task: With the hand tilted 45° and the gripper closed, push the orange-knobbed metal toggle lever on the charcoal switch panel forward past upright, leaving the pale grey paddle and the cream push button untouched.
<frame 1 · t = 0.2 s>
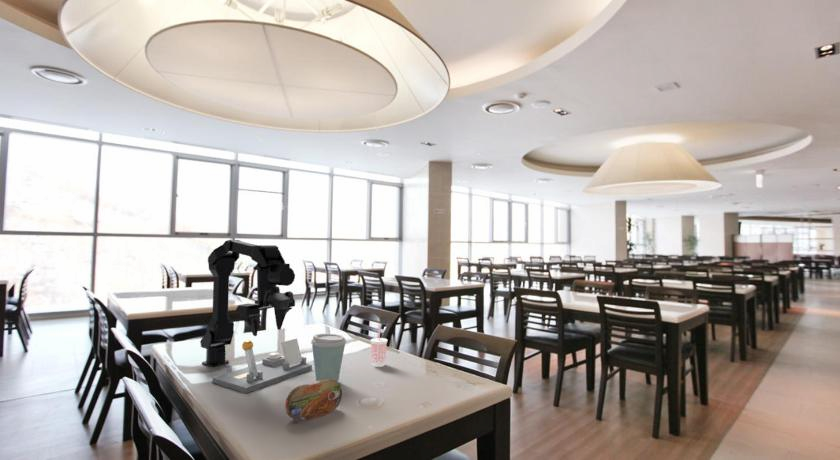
hand: (267, 332, 130), 15 cm above the table, tool pointing down, fingers open, 9 cm apart
switch panel: (264, 375, 132), on the table
grey paddle: (291, 352, 139), point 6 cm above the table, hinge at -22.0°
cream push button: (274, 356, 140), point 4 cm above the table, slide at 0.0 cm
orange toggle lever: (250, 358, 125), point 8 cm above the table, hinge at -22.0°
beverage cup: (378, 365, 146), on the table
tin: (313, 416, 103), on the table
disposable coffee cup: (327, 384, 126), on the table
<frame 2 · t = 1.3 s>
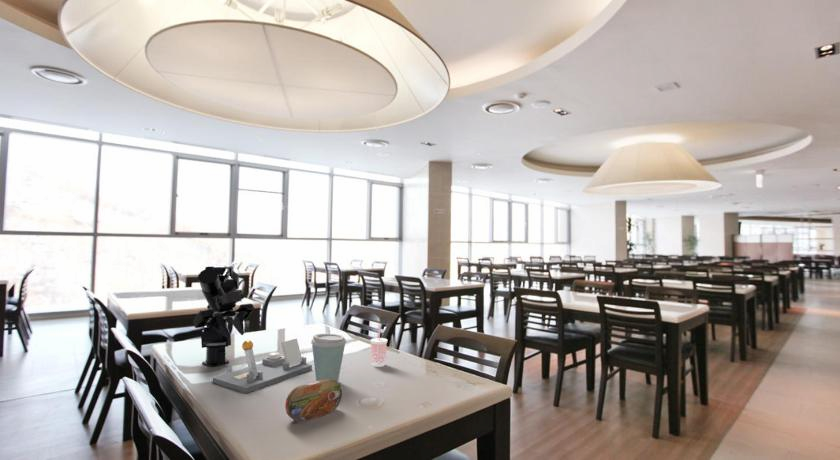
hand: (236, 335, 129), 14 cm above the table, tool tilted 45°, fingers open, 5 cm apart
nothing on the table moved.
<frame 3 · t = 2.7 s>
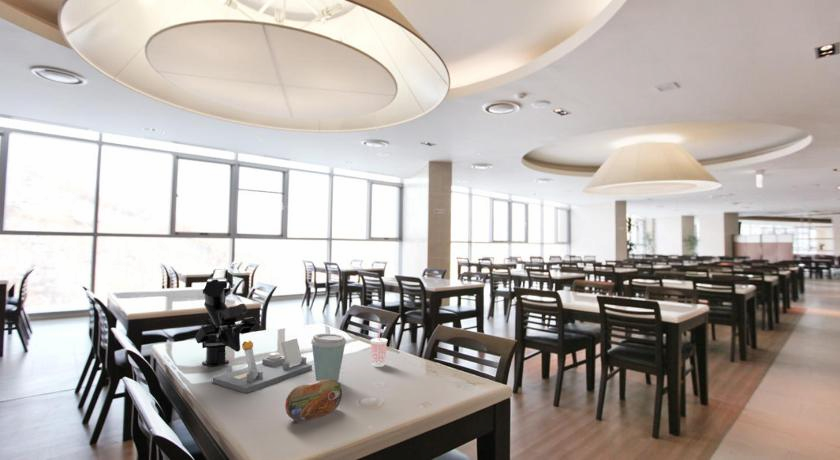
hand: (238, 350, 128), 9 cm above the table, tool tilted 45°, fingers closed
nothing on the table moved.
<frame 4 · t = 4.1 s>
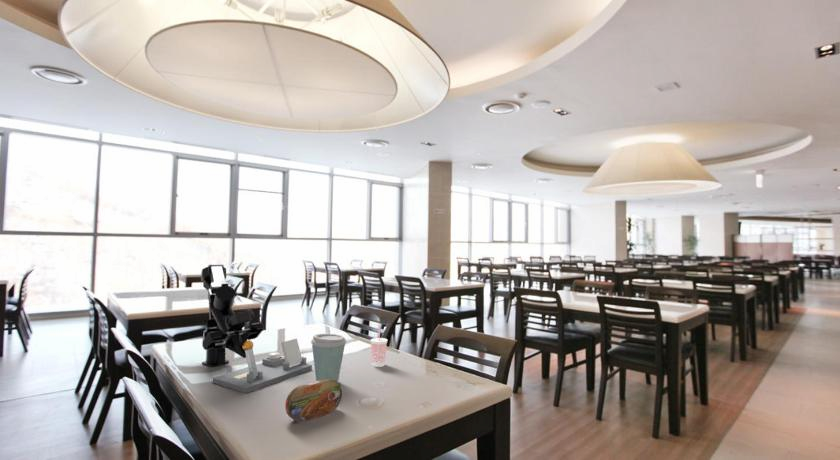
hand: (246, 357, 126), 8 cm above the table, tool tilted 45°, fingers closed, pressing on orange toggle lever
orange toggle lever: (250, 358, 125), point 8 cm above the table, hinge at -21.5°, touching gripper
everything else where it was.
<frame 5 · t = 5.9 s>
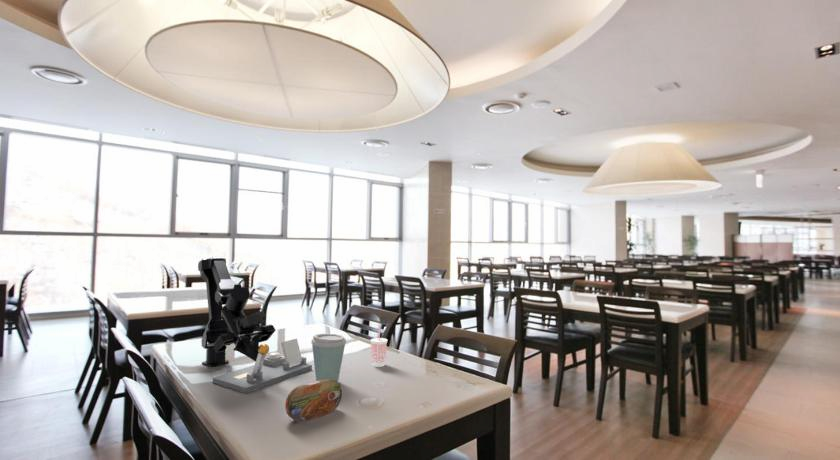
hand: (257, 360, 123), 8 cm above the table, tool tilted 45°, fingers closed, pressing on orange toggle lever
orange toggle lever: (259, 360, 123), point 8 cm above the table, hinge at 21.9°, touching gripper
everything else where it was.
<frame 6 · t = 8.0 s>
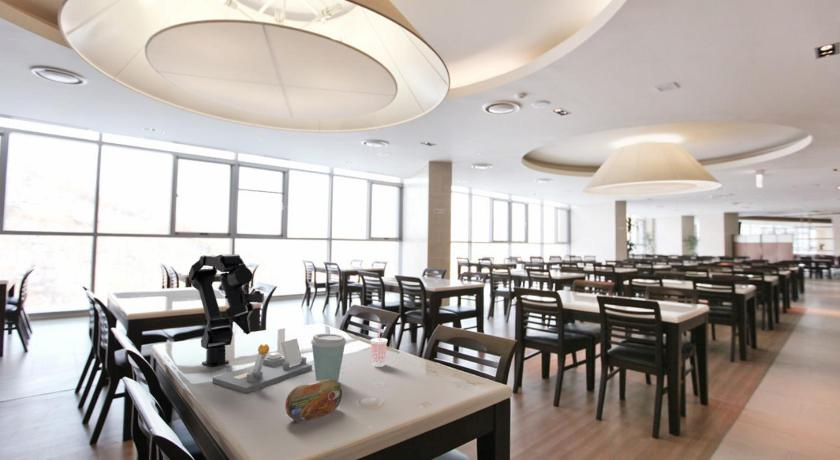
hand: (248, 333, 136), 13 cm above the table, tool tilted 20°, fingers closed
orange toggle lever: (260, 360, 123), point 8 cm above the table, hinge at 21.9°
everything else where it was.
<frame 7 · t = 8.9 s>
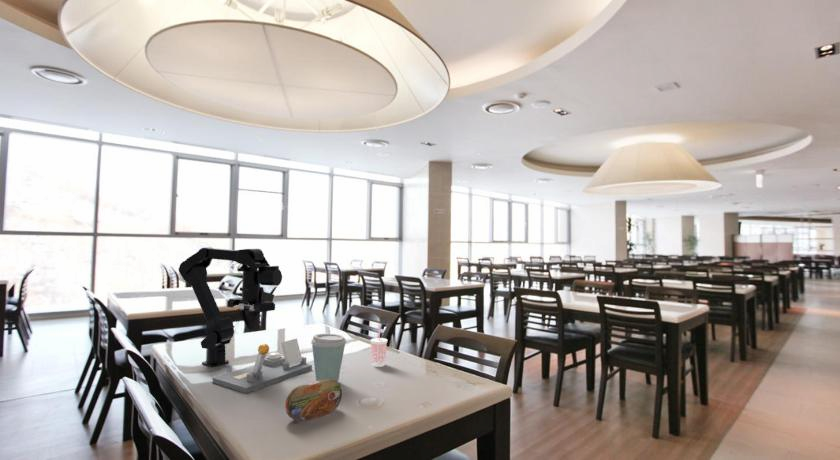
hand: (250, 329, 141), 13 cm above the table, tool pointing down, fingers closed
nothing on the table moved.
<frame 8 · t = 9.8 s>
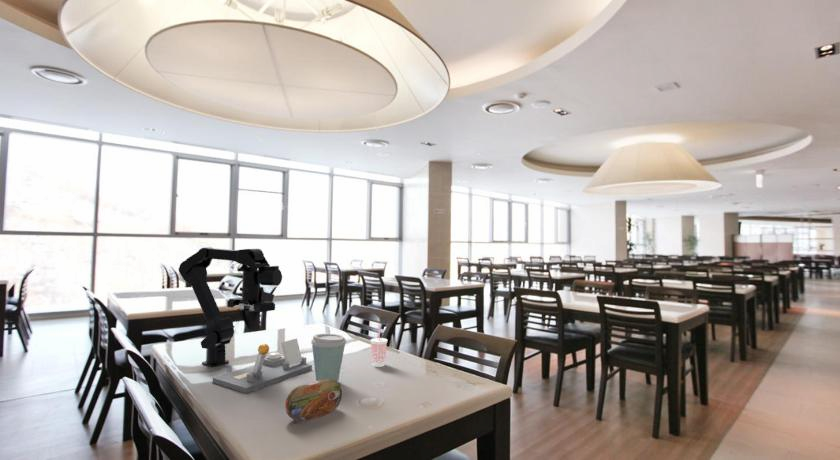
hand: (250, 329, 141), 13 cm above the table, tool pointing down, fingers closed
nothing on the table moved.
at the end: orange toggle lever at +22° (first picture: -22°); grey paddle at -22° (first picture: -22°); cream push button slide at 0.0 cm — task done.
